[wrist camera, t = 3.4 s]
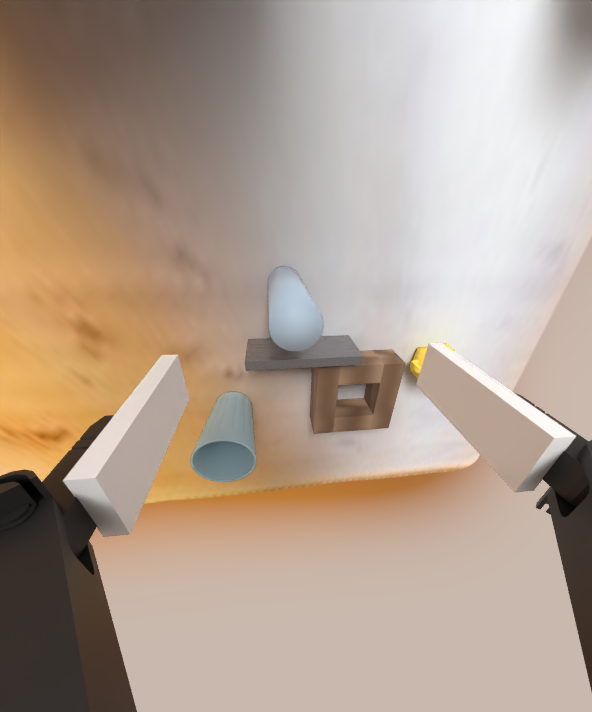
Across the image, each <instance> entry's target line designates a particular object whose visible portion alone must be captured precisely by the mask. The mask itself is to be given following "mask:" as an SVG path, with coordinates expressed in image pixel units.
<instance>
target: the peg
mask: <svg viewBox="0 0 592 712" xmlns="http://www.w3.org/2000/svg"><path fill="white" fill-rule="evenodd" d="M268 310H269V332H270V335H271V338H272V339H273V341H274V342H275V343H276V344H277V345H278V346H279V347H281V348H283V349H285V350H288V351H302V350H305V349H308V348H310V347H311V346H313V345H314V344H315V343H316V342H317V341H318V340H319V338H320V337H321V334H322V332H323V327H324V323H323V318H322V315H321V313H320V311H319V310H318V308H317V306H316V304H315V303H314V301H313V299H312V297H311V296H310V294H309V292H308V291H307V289H306V287H305V285H304V284H303V282H302V280H301V278H300V277H299V275H298V273H297V272H296V271H295V270H294V269H293V268H291V267H288V266H280V267H277V268H275V269H274V270H273V271H272V272H271V273H270V275H269V278H268Z"/></svg>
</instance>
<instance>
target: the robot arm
mask: <svg viewBox="0 0 592 712" xmlns="http://www.w3.org/2000/svg"><path fill="white" fill-rule="evenodd" d="M416 385H417V386H418V388H419V389H420V390H421V391H422V392H423V393H424V394H425V395H426V396H427V397H428V398H429V400H430V401H431V402H432V403H433V404H434V405H435V406H436V407H437V408H438V409H439V410H440V412H441V413H442V414H443V415H444V416H445V417H446V418H447V419H448V420H449V421H450V422H451V423H452V425H453V426H454V427H455V428H456V429H457V430H458V431H459V432H460V433H461V434H462V435H463V437H464V438H465V439H466V440H467V441H468V442H469V443H470V444H471V445H472V446H473V447H474V449H475V450H476V451H477V452H478V453H479V454H480V455H481V456H482V457H483V458H484V459H485V461H486V462H487V463H488V464H489V465H490V466H491V467H492V468H493V469H494V470H495V471H496V472H497V473H498V475H499V476H500V477H501V478H502V479H503V480H504V481H505V482H506V483H507V485H508V486H509V487H510V488H511V489H512V490H513V491H514V492H523V491H532V490H534V489H535V488H536V487H537V486H538V484H539V483H540V482H541V481H542V479H543V480H544V481H545V482H546V483H547V484H549V486H551V487H550V488H549V489H548V490H547V491H546V493H545V494H544V495H543V496H542V497H541V499H540V500H539V501H538V502H537V505H536V508H538V509H541V508H542V507H543V506H544V504H549V508H548V510H547V511H546V512H547V513H549V514H551V517H552V521H553V525H554V530H555V534H556V539H557V543H558V547H559V552H560V556H561V560H562V564H563V569H564V573H565V577H566V582H567V586H568V591H569V595H570V599H571V604H572V608H573V612H574V617H575V621H576V626H577V630H578V634H579V639H580V643H581V647H582V652H583V656H584V660H585V664H586V669H587V673H588V677H589V682H590V686H591V691H592V440H591V441H587V440H585V439H584V438H583V437H581V436H580V435H578V434H577V433H575V432H574V431H572V430H571V429H569V428H568V427H566V426H565V425H564V424H562V423H561V422H559V421H558V420H556V419H555V418H553V417H552V416H550V415H549V414H545V412H544V411H543V410H542V409H540V408H539V407H537V406H534V404H532V403H531V402H530V401H528V400H527V399H525V398H524V397H522V396H521V395H518V394H516V393H514V392H512V391H510V390H509V389H507V388H506V387H505V386H503V385H502V384H500V383H499V382H497V381H496V380H494V379H493V378H492V377H490V376H489V375H487V374H486V373H484V372H483V371H481V370H480V369H479V368H477V367H476V366H474V365H473V364H471V363H470V362H468V361H467V360H466V359H464V358H463V357H461V356H460V355H458V354H457V353H455V352H454V351H453V350H451V349H450V348H448V347H447V346H445V345H444V344H442V343H433V344H428V348H427V351H426V354H425V358H424V361H423V364H422V368H421V371H420V374H419V378H418V381H417V384H416ZM188 401H189V395H188V391H187V387H186V383H185V379H184V376H183V372H182V368H181V364H180V360H179V356H178V354H176V355H161V357H160V358H159V359H158V360H157V362H156V363H155V364H154V366H153V367H152V368H151V369H150V371H149V372H148V373H147V374H146V376H145V377H144V378H143V380H142V381H141V382H140V383H139V385H138V386H137V387H136V388H135V390H134V391H133V392H132V393H131V395H130V396H129V397H128V399H127V400H126V401H125V402H124V404H123V405H122V406H121V407H120V409H119V410H118V411H117V413H116V414H115V415H111V416H104V417H103V418H101V419H100V420H98V421H97V422H96V423H94V424H93V425H91V426H90V427H89V429H88V430H87V431H86V432H85V433H84V434H83V435H82V437H81V438H80V440H78V441H77V442H76V444H75V445H74V446H73V447H72V450H70V451H69V452H68V453H67V454H66V455H65V456H64V457H63V459H62V460H61V461H60V462H59V463H58V464H57V466H56V467H55V468H54V469H53V470H52V471H51V473H50V474H49V475H48V476H47V477H46V478H45V480H44V481H43V482H41V481H40V479H39V478H38V477H37V476H36V474H35V473H34V472H33V471H29V470H19V471H13V472H10V473H7V474H4V475H2V476H0V712H137V710H136V706H135V703H134V699H133V695H132V692H131V688H130V684H129V680H128V677H127V673H126V669H125V666H124V662H123V658H122V654H121V651H120V647H119V643H118V640H117V636H116V632H115V628H114V625H113V621H112V617H111V614H110V610H109V606H108V602H107V599H106V595H105V591H104V587H103V584H102V580H101V577H100V573H99V569H98V565H97V561H96V558H95V554H94V550H93V547H92V545H91V543H90V542H89V539H90V538H91V536H92V534H93V532H94V530H95V529H96V527H97V528H98V530H99V531H100V532H101V534H102V535H103V537H109V536H118V535H127V534H130V533H131V531H132V529H133V527H134V524H135V522H136V520H137V518H138V515H139V513H140V511H141V508H142V506H143V504H144V502H145V499H146V497H147V495H148V492H149V490H150V488H151V486H152V483H153V481H154V479H155V476H156V474H157V472H158V470H159V467H160V465H161V463H162V460H163V458H164V456H165V453H166V451H167V449H168V447H169V444H170V442H171V440H172V437H173V435H174V433H175V431H176V428H177V426H178V424H179V421H180V419H181V417H182V415H183V412H184V410H185V408H186V405H187V403H188Z"/></svg>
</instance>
